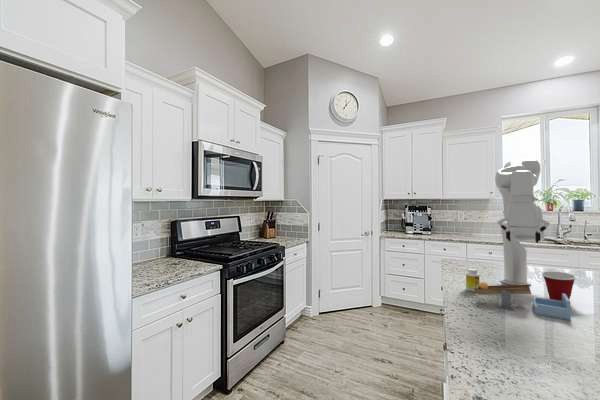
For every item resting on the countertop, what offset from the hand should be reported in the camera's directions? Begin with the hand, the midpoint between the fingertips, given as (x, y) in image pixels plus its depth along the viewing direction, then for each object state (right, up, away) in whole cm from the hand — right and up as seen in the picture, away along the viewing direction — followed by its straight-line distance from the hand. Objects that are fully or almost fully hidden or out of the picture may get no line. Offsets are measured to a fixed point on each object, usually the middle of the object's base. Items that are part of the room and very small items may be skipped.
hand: (522, 241), depth 115 cm
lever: (-7, -21, +2) cm, 22 cm away
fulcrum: (-7, -27, -1) cm, 28 cm away
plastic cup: (+17, -26, +2) cm, 32 cm away
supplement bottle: (-9, -27, +19) cm, 34 cm away
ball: (-14, -20, +4) cm, 25 cm away
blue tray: (+3, -26, -9) cm, 28 cm away
